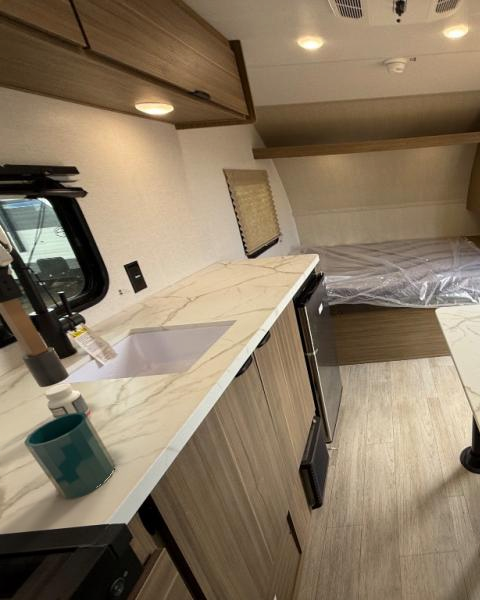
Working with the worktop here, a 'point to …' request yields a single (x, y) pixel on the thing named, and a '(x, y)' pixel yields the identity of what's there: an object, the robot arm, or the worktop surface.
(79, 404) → the pill bottle
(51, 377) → the brush
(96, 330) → the worktop surface
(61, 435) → the teal handleless cup
